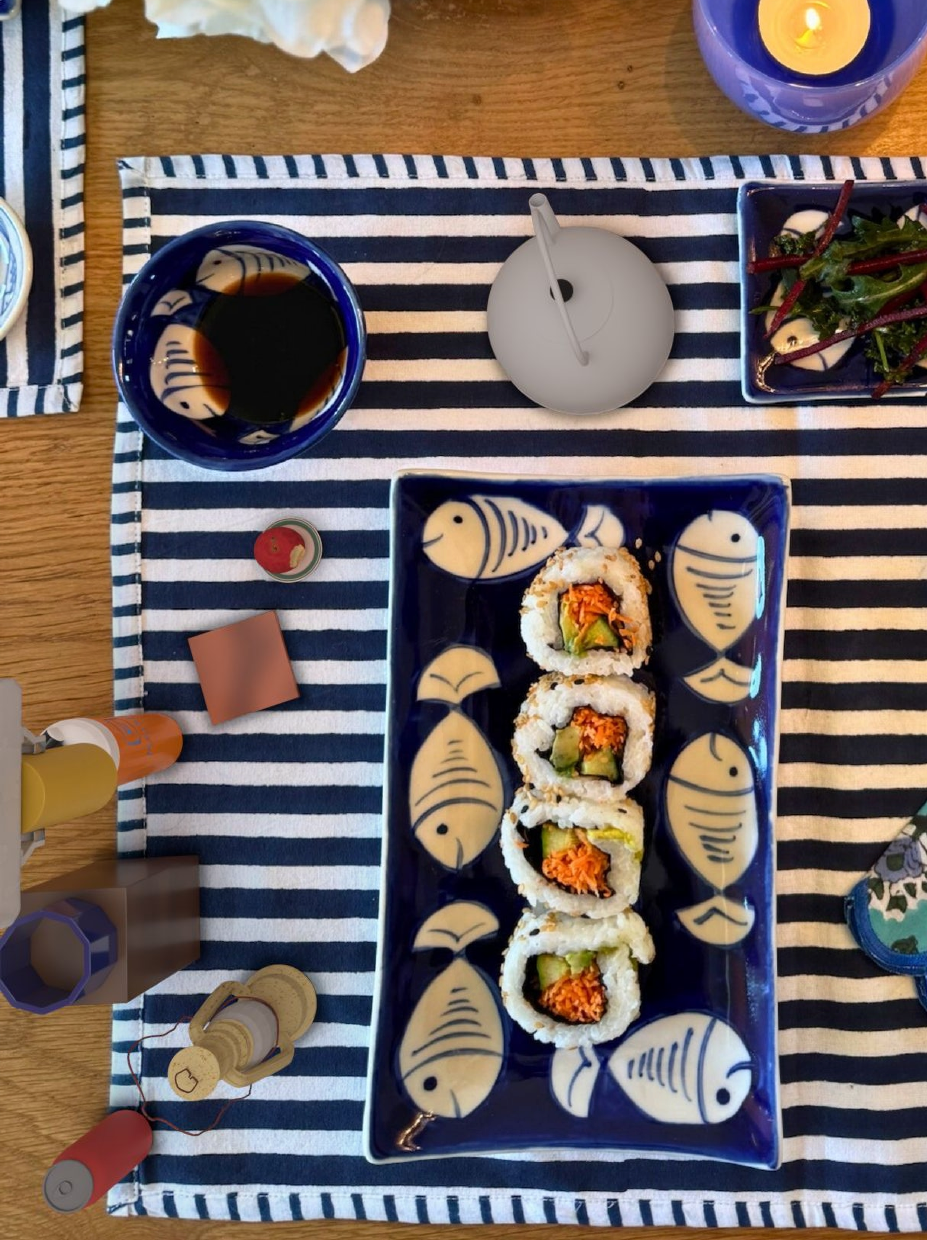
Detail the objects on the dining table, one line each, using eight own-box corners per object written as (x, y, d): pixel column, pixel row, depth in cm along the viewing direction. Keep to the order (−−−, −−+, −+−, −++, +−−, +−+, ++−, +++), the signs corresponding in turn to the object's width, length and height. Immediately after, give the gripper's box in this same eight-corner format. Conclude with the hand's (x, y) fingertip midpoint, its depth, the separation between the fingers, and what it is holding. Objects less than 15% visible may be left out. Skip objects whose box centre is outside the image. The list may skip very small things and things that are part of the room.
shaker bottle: (164, 793, 141) (65, 824, 121) (103, 754, 141) (-5, 778, 121) (205, 730, 141) (113, 750, 121) (145, 691, 142) (44, 705, 122)
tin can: (47, 816, 108) (-34, 840, 97) (48, 744, 109) (-33, 760, 98) (117, 812, 108) (44, 836, 97) (117, 740, 109) (44, 756, 98)
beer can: (89, 1129, 137) (24, 1179, 125) (136, 1095, 137) (76, 1142, 126) (118, 1177, 137) (57, 1232, 125) (165, 1143, 137) (108, 1195, 125)
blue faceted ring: (24, 1001, 123) (-7, 1018, 118) (24, 900, 124) (-7, 912, 119) (118, 996, 123) (90, 1012, 118) (117, 894, 124) (90, 907, 119)
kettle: (466, 250, 146) (412, 185, 124) (638, 196, 146) (615, 122, 124) (522, 438, 144) (477, 407, 121) (697, 383, 144) (685, 342, 121)
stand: (101, 963, 139) (15, 1009, 123) (100, 860, 140) (14, 893, 124) (200, 957, 139) (127, 1003, 123) (199, 854, 140) (126, 886, 124)
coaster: (214, 725, 141) (211, 725, 141) (189, 638, 142) (187, 638, 142) (300, 696, 141) (298, 697, 141) (275, 610, 142) (273, 610, 142)
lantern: (212, 996, 138) (61, 1104, 108) (274, 938, 139) (140, 1029, 109) (278, 1073, 137) (143, 1203, 108) (340, 1014, 138) (223, 1128, 108)
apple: (313, 509, 143) (292, 504, 137) (331, 571, 143) (310, 569, 136) (251, 529, 143) (227, 525, 137) (268, 591, 143) (245, 590, 136)
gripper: (-116, 682, 89) (3, 672, 103) (-121, 958, 87) (1, 909, 101) (-35, 679, 89) (73, 668, 103) (-38, 954, 87) (72, 906, 101)
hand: (37, 790), depth 102 cm, fingers closed on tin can, 6 cm apart
